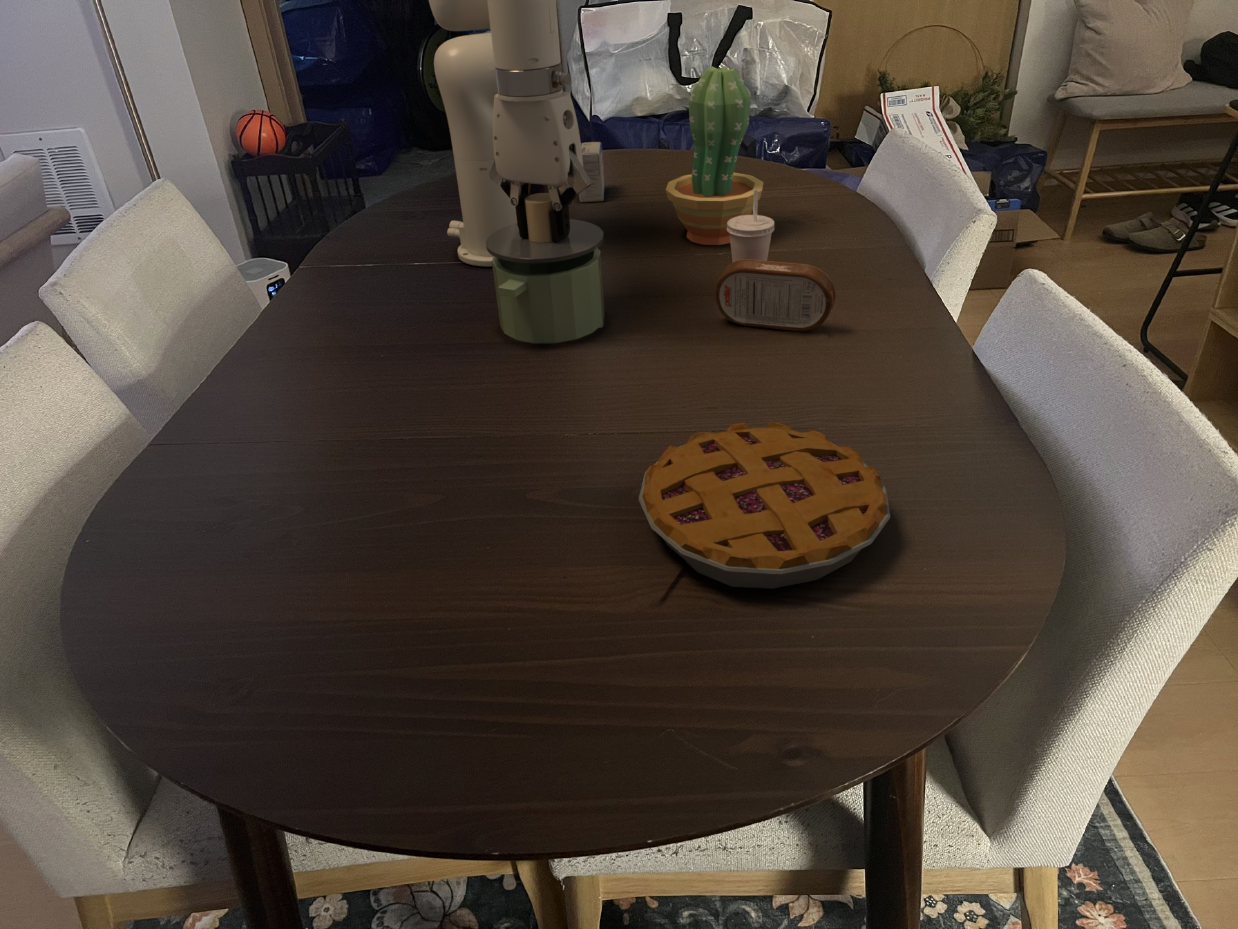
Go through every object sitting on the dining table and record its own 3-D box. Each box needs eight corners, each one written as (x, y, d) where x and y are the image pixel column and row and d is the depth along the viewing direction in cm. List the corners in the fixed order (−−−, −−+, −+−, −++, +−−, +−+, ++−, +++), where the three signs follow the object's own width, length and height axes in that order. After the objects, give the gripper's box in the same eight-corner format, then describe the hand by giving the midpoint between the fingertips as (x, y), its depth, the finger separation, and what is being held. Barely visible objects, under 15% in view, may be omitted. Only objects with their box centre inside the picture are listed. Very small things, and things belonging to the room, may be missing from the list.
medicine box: (603, 202, 165) (600, 152, 160) (578, 203, 165) (575, 154, 161) (604, 188, 172) (602, 141, 167) (581, 190, 172) (577, 142, 167)
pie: (604, 491, 89) (601, 448, 86) (798, 436, 96) (800, 394, 93) (711, 634, 72) (711, 585, 69) (937, 554, 79) (945, 507, 76)
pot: (469, 345, 118) (458, 275, 113) (546, 291, 132) (539, 226, 127) (560, 363, 113) (554, 290, 107) (630, 304, 126) (627, 237, 121)
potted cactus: (783, 236, 146) (791, 67, 132) (707, 260, 139) (708, 84, 125) (720, 213, 157) (722, 54, 143) (647, 234, 150) (641, 69, 136)
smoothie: (770, 299, 125) (774, 197, 118) (723, 298, 127) (724, 197, 119) (773, 281, 131) (777, 182, 123) (728, 280, 132) (729, 182, 124)
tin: (833, 326, 117) (838, 263, 113) (829, 337, 115) (834, 273, 110) (718, 315, 122) (718, 254, 117) (712, 325, 120) (712, 263, 115)
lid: (463, 259, 114) (456, 209, 110) (527, 222, 125) (522, 176, 121) (566, 274, 108) (562, 222, 104) (624, 234, 119) (621, 186, 115)
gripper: (609, 78, 105) (617, 234, 115) (487, 72, 112) (505, 220, 122) (576, 91, 99) (588, 254, 109) (450, 85, 106) (472, 239, 116)
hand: (544, 235), depth 115 cm, fingers closed on lid, 4 cm apart
